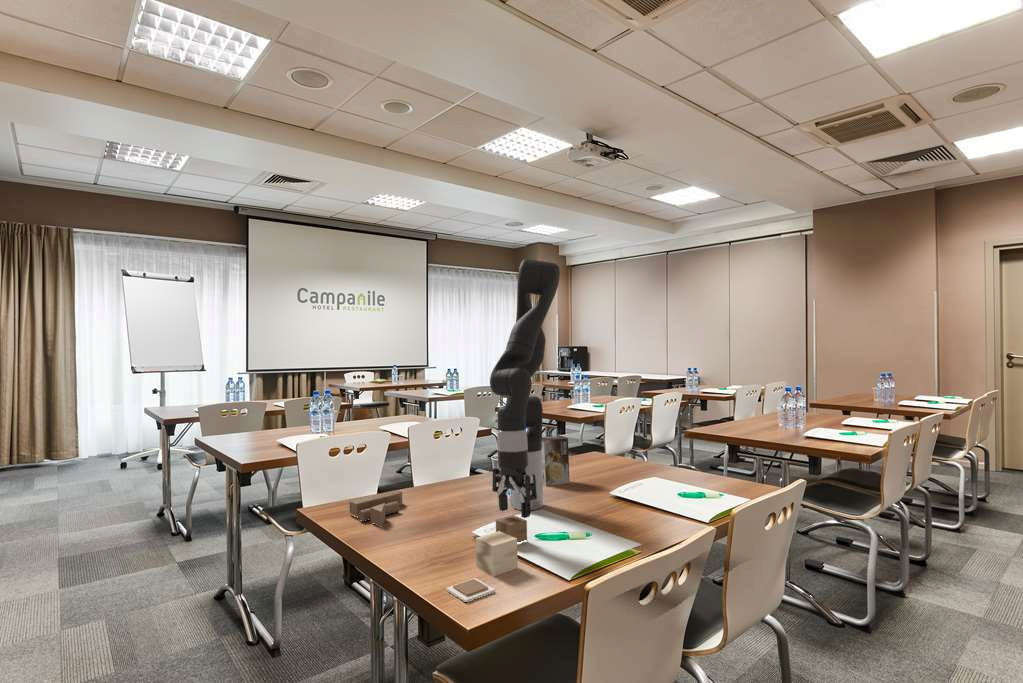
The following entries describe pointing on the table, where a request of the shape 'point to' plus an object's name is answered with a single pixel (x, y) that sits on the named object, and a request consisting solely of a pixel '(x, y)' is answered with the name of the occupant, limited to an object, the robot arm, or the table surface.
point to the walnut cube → (513, 527)
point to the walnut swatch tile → (470, 590)
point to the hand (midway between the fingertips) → (514, 513)
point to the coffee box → (555, 461)
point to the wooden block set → (376, 506)
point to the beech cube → (496, 553)
